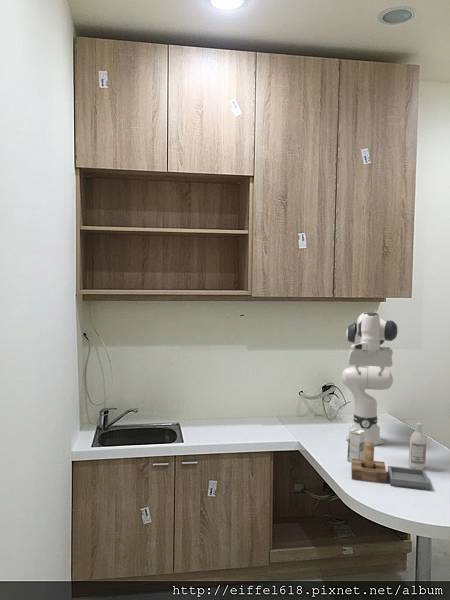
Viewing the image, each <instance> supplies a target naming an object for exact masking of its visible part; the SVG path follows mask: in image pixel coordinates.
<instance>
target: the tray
mask: <svg viewBox="0 0 450 600" xmlns="http://www.w3.org/2000/svg"><path fill="white" fill-rule="evenodd" d="M387 475H388V478H389V484H390V487H396V488H405V489H407V488H408V489H415V490H423V491H431V483H430V480H429V477H428V476H427V473H426V470H425V469H414V468H411V467H401V466H393V465H387Z"/></svg>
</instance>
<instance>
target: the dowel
mask: <svg viewBox="0 0 450 600" xmlns="http://www.w3.org/2000/svg"><path fill="white" fill-rule="evenodd" d="M374 459H375V445H374V443H373V442H369V441H367V442H365V445H364V468H371V469H373V464H374V461H375V460H374Z"/></svg>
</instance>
